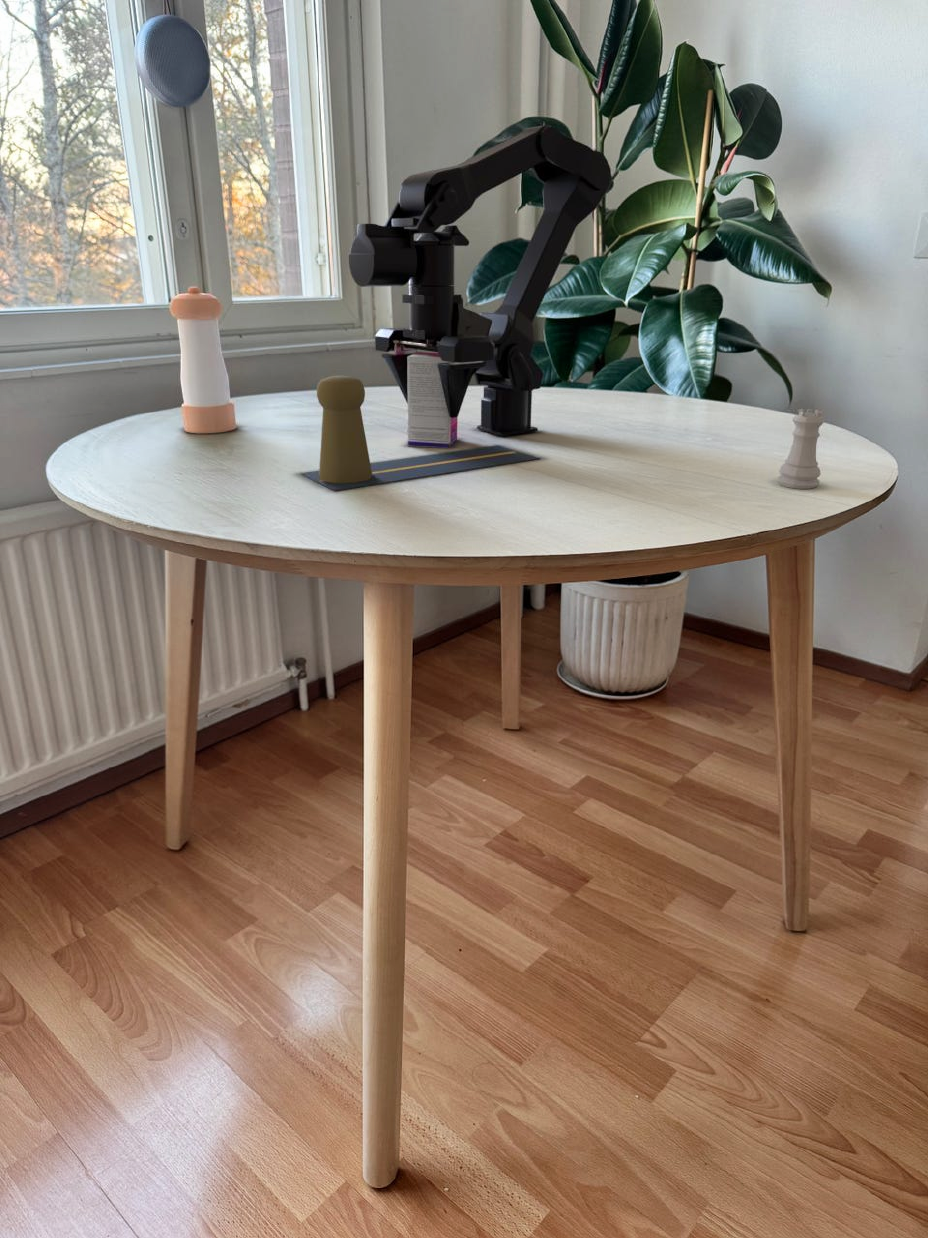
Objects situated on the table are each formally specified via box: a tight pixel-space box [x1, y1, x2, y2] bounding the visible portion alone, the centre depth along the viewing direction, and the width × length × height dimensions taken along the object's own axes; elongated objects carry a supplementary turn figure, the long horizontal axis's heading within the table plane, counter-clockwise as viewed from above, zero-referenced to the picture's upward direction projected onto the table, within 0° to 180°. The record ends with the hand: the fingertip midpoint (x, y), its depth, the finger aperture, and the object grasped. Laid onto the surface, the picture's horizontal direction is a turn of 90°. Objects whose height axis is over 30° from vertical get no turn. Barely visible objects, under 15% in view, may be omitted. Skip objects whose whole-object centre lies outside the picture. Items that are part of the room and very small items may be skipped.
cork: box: [316, 374, 372, 483], centre depth 92 cm, size 6×6×11 cm
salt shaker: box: [169, 286, 237, 434], centre depth 117 cm, size 7×7×19 cm
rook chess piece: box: [776, 408, 826, 490], centre depth 90 cm, size 4×4×8 cm
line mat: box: [300, 444, 541, 492], centre depth 99 cm, size 28×9×1 cm, turn 124°
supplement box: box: [406, 351, 458, 449], centre depth 110 cm, size 6×6×12 cm
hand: (432, 412), depth 110 cm, fingers open, 9 cm apart
